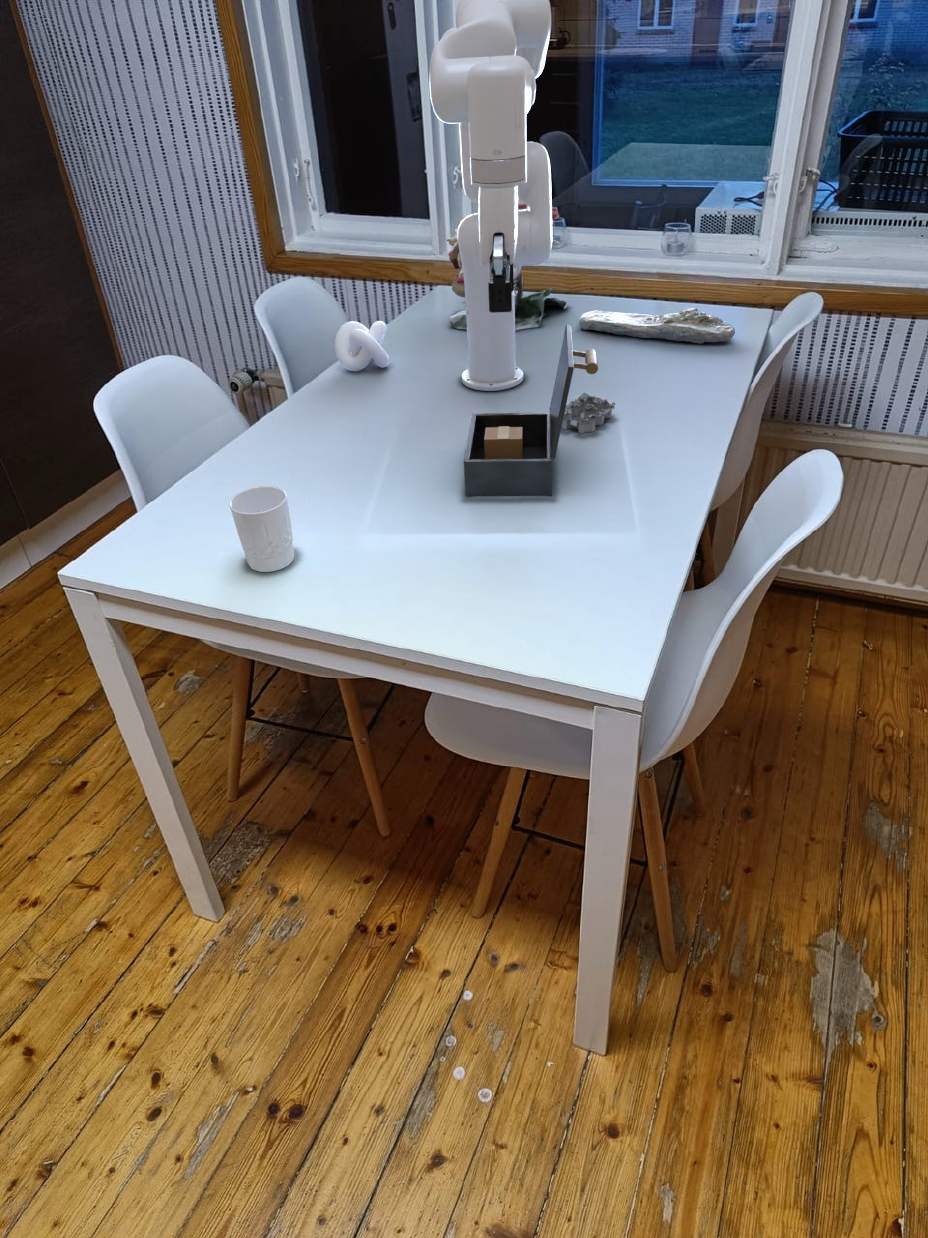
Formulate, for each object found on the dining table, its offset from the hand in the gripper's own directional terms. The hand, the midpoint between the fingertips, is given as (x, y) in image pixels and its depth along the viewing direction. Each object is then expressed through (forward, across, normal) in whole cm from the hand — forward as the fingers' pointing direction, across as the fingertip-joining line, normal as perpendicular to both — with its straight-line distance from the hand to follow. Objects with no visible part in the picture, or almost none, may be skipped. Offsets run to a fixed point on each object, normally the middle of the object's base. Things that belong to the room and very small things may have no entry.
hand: (501, 301), depth 125 cm
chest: (+28, -1, +1) cm, 28 cm away
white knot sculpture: (+28, -52, -31) cm, 67 cm away
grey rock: (+28, -20, +14) cm, 37 cm away
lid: (+14, 0, +8) cm, 16 cm away
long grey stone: (+28, -66, +31) cm, 78 cm away
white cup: (+29, +25, -33) cm, 51 cm away
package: (+27, 0, 0) cm, 27 cm away
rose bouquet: (+27, -82, -4) cm, 86 cm away
